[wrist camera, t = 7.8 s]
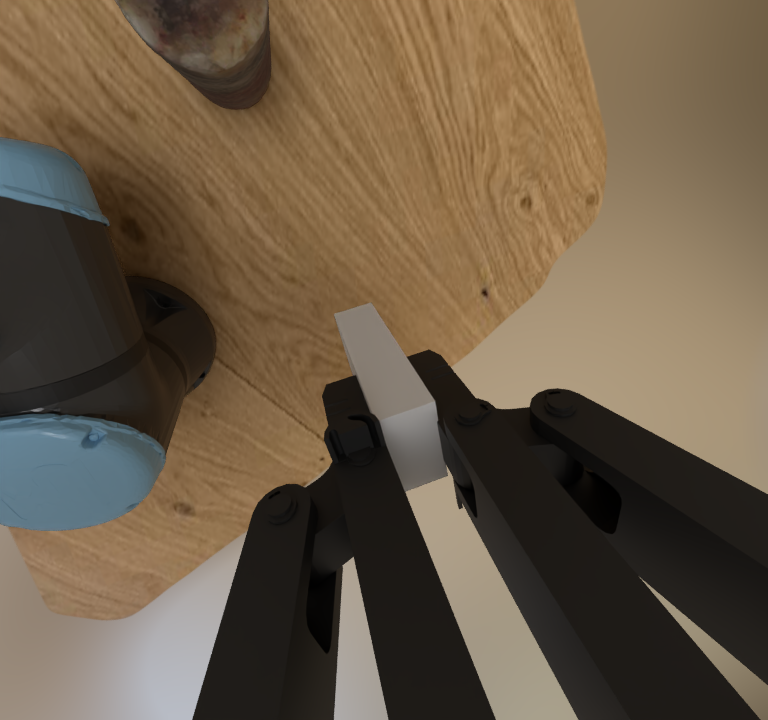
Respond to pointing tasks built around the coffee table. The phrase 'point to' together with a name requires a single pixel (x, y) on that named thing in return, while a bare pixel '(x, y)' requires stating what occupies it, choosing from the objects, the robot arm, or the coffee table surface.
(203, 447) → the coffee table surface
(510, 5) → the coffee table surface
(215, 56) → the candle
